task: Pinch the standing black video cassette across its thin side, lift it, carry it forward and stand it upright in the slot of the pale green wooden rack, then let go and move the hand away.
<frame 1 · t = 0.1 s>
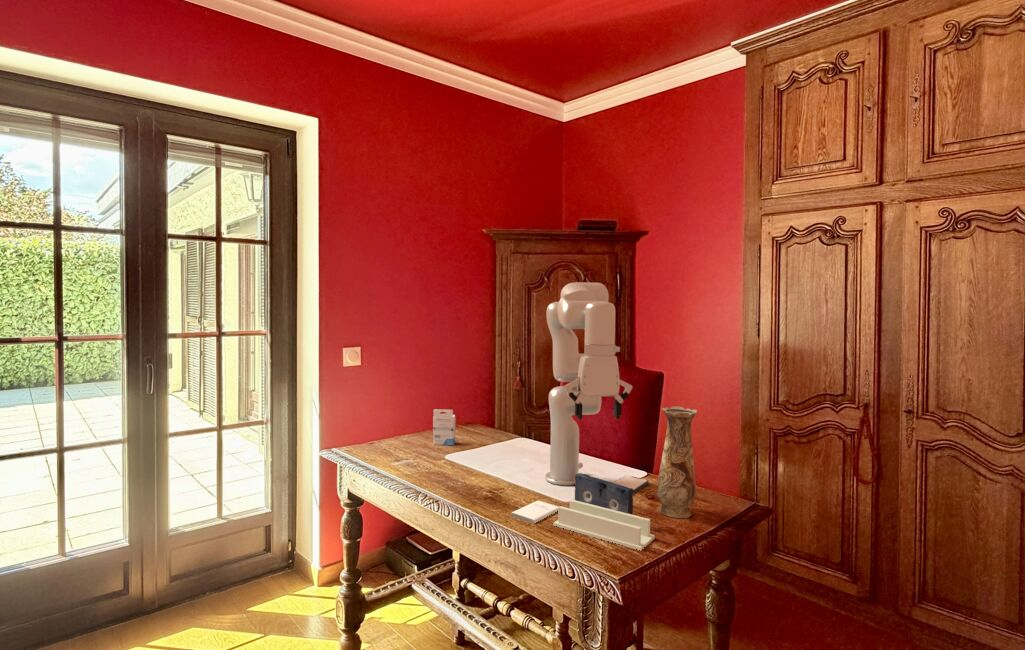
hand: (597, 418, 144), 31 cm above the table, tool pointing down, fingers open, 9 cm apart
vase: (675, 512, 163), on the table
ink box: (444, 444, 233), on the table
external hard drive: (535, 515, 161), on the table
phone case: (626, 489, 183), on the table
vhs cassette tape: (602, 516, 160), on the table
rack: (602, 531, 149), on the table
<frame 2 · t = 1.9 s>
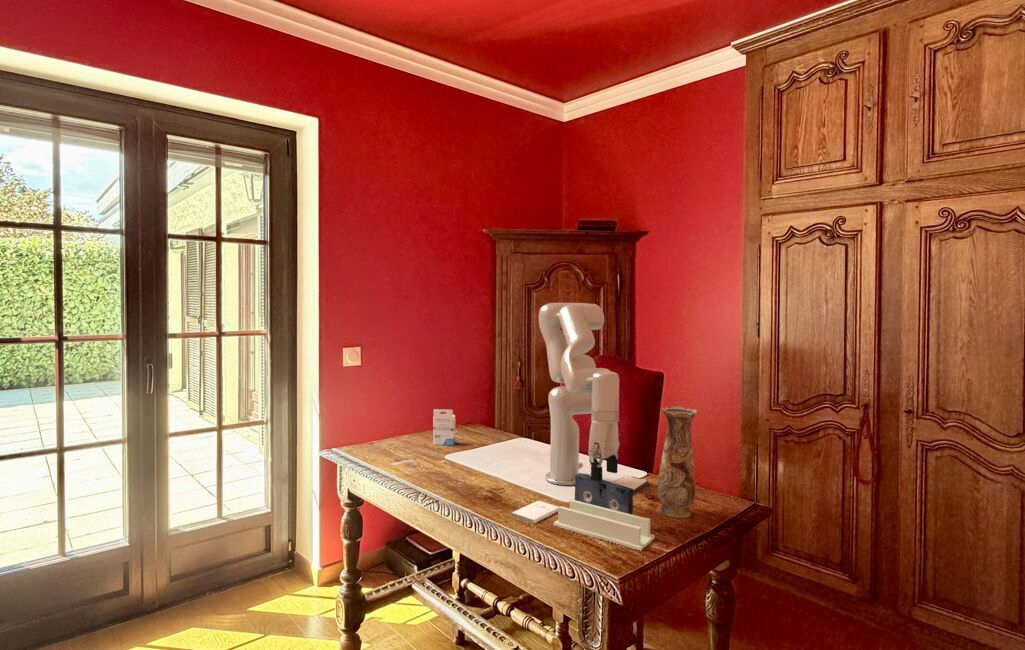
hand: (604, 476, 158), 11 cm above the table, tool pointing down, fingers open, 9 cm apart
nothing on the table moved.
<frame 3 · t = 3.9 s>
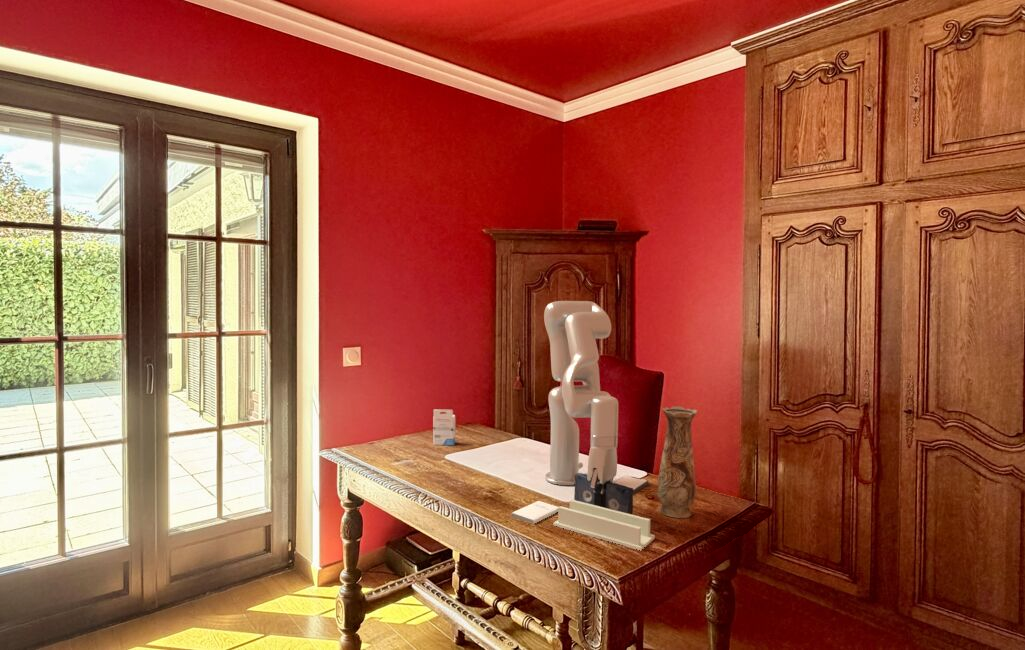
hand: (602, 504, 160), 3 cm above the table, tool pointing down, fingers closed on vhs cassette tape, 3 cm apart
vhs cassette tape: (602, 516, 160), on the table, touching gripper
everything else where it was.
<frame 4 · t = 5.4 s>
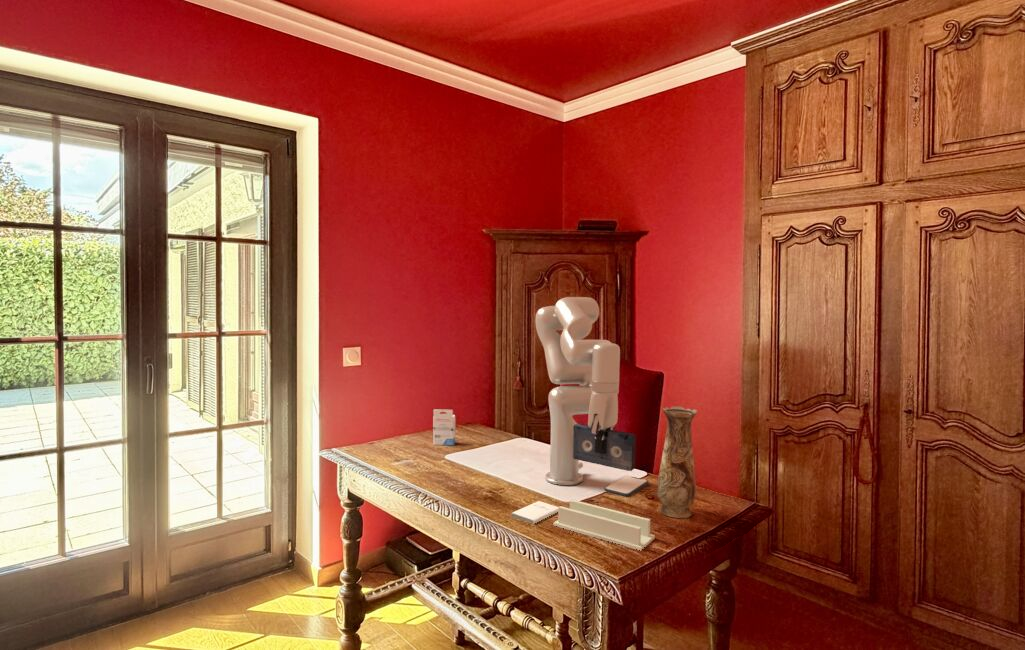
hand: (603, 451, 159), 18 cm above the table, tool pointing down, fingers closed on vhs cassette tape, 2 cm apart
vhs cassette tape: (603, 464, 160), point 14 cm above the table, touching gripper
everything else where it was.
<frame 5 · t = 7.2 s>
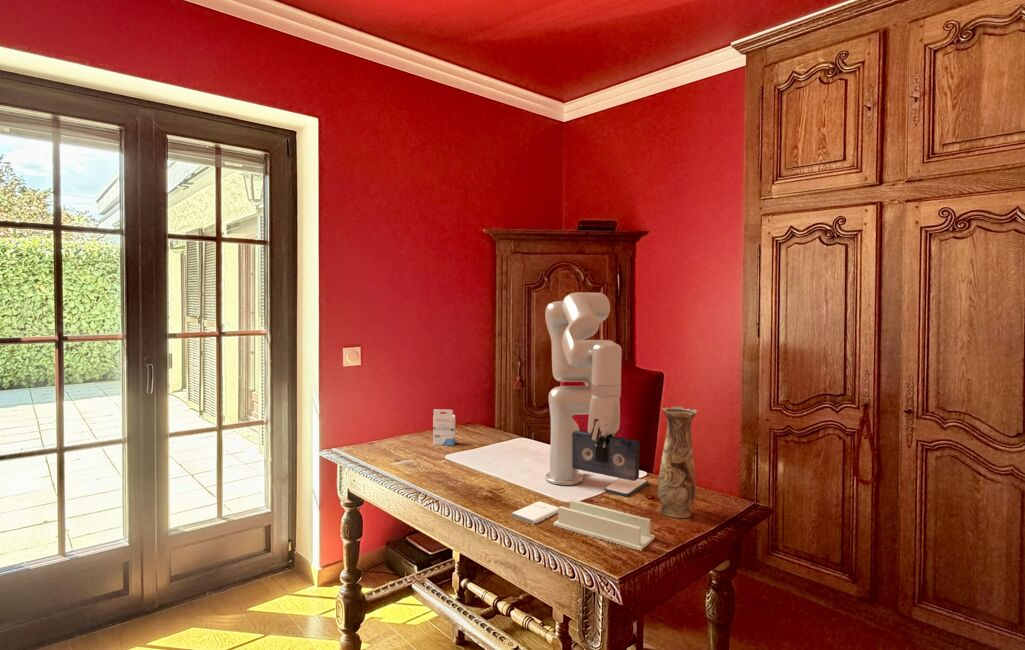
hand: (604, 459, 148), 19 cm above the table, tool pointing down, fingers closed on vhs cassette tape, 2 cm apart
vhs cassette tape: (604, 474, 148), point 15 cm above the table, touching gripper
everything else where it was.
when the fingers open (5 cm above the table, at t = 10.2 s): vhs cassette tape stays where it is, resting on rack.
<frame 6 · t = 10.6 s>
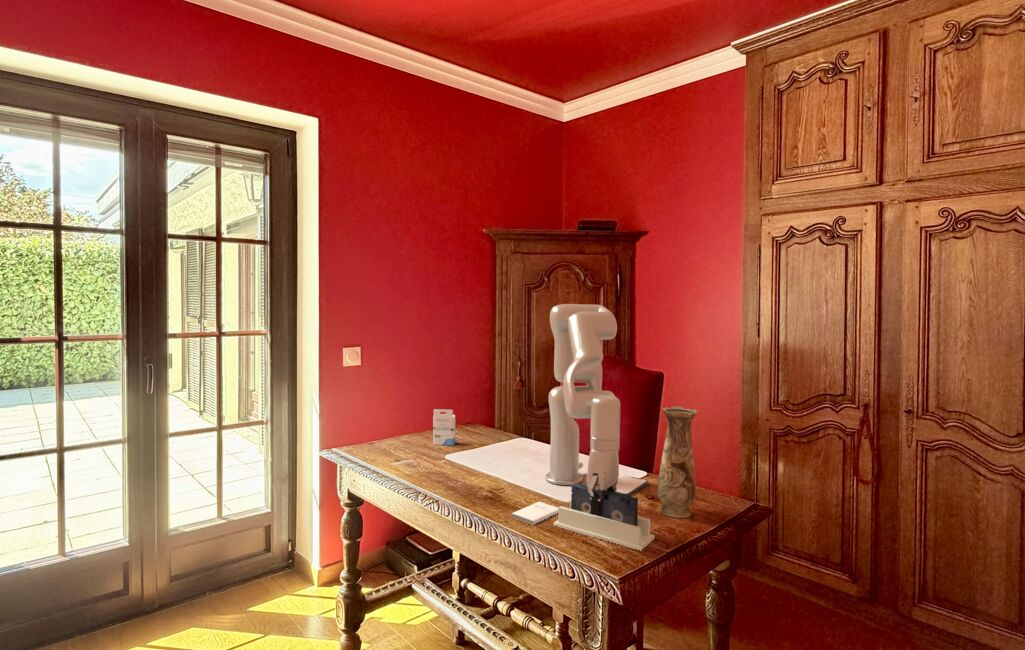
hand: (603, 509, 148), 6 cm above the table, tool pointing down, fingers open, 7 cm apart
vhs cassette tape: (602, 529, 149), point 1 cm above the table, touching rack
everything else where it was.
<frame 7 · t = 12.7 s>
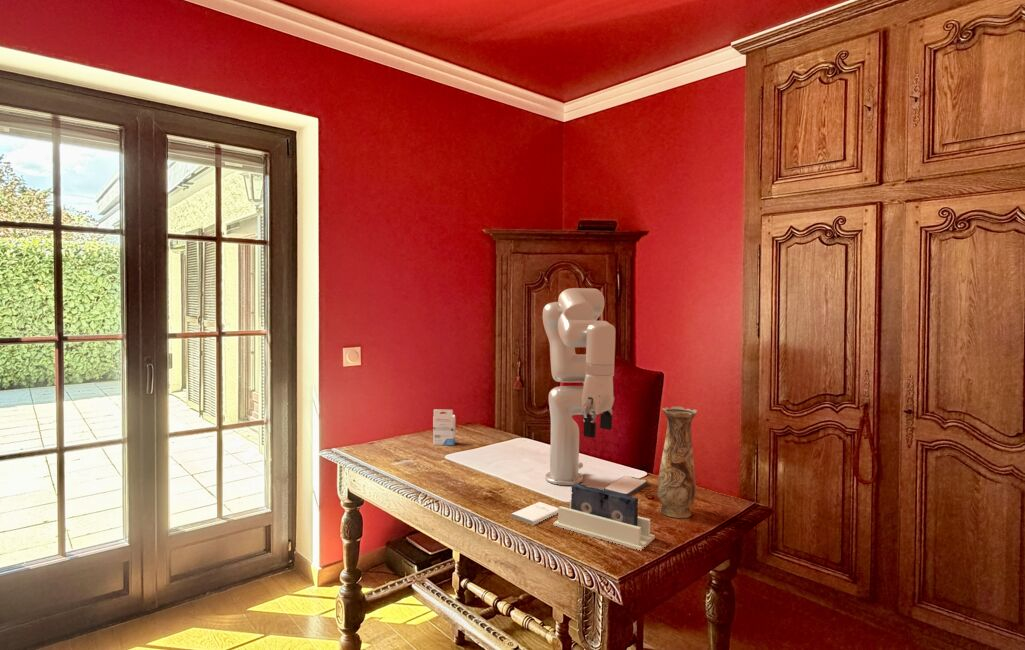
hand: (597, 432, 152), 25 cm above the table, tool pointing down, fingers open, 9 cm apart
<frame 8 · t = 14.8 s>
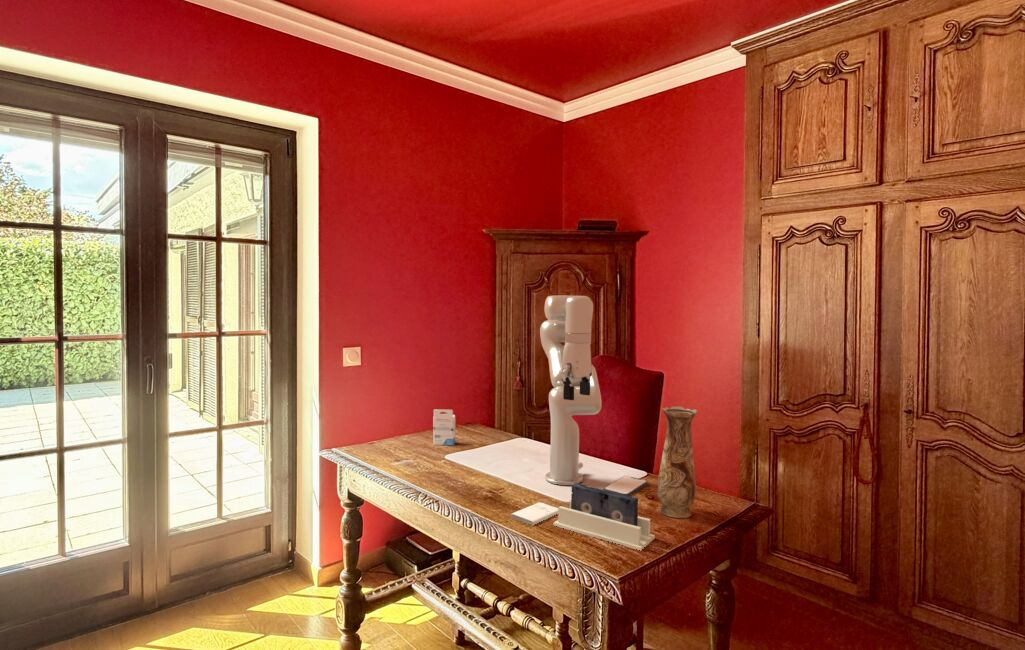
hand: (576, 397, 165), 32 cm above the table, tool pointing down, fingers open, 9 cm apart
at the end: vhs cassette tape inside the target area on the rack (0.3 cm from its centre), point 0.6 cm above the rack's base; vhs cassette tape tilted 0°; the gripper is holding nothing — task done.
